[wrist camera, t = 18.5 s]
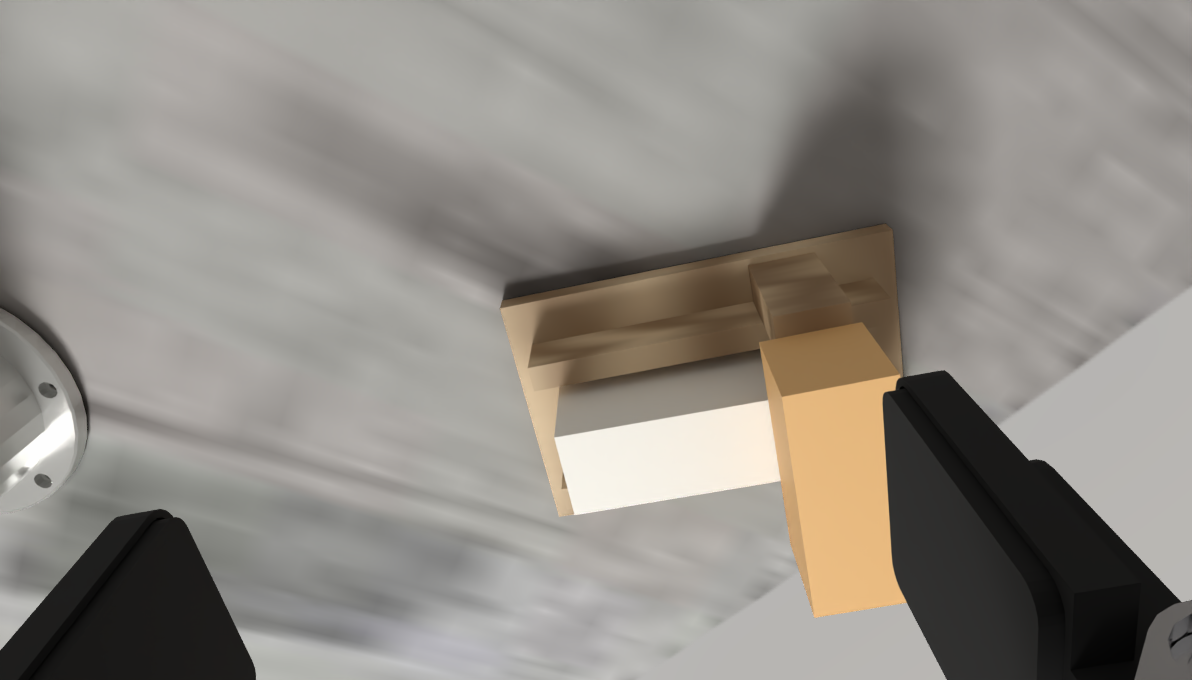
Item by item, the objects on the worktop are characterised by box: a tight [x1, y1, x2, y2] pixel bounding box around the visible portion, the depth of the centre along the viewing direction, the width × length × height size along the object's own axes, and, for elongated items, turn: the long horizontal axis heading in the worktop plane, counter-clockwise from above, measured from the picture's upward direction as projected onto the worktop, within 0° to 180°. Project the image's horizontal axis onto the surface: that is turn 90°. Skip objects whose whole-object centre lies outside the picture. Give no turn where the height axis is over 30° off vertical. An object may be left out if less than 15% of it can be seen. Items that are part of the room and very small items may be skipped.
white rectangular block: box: [554, 349, 781, 515], centre depth 37 cm, size 14×4×6 cm, turn 102°
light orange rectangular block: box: [759, 322, 907, 618], centre depth 32 cm, size 4×10×4 cm, turn 13°
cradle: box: [500, 224, 903, 517], centre depth 38 cm, size 18×12×7 cm, turn 102°
